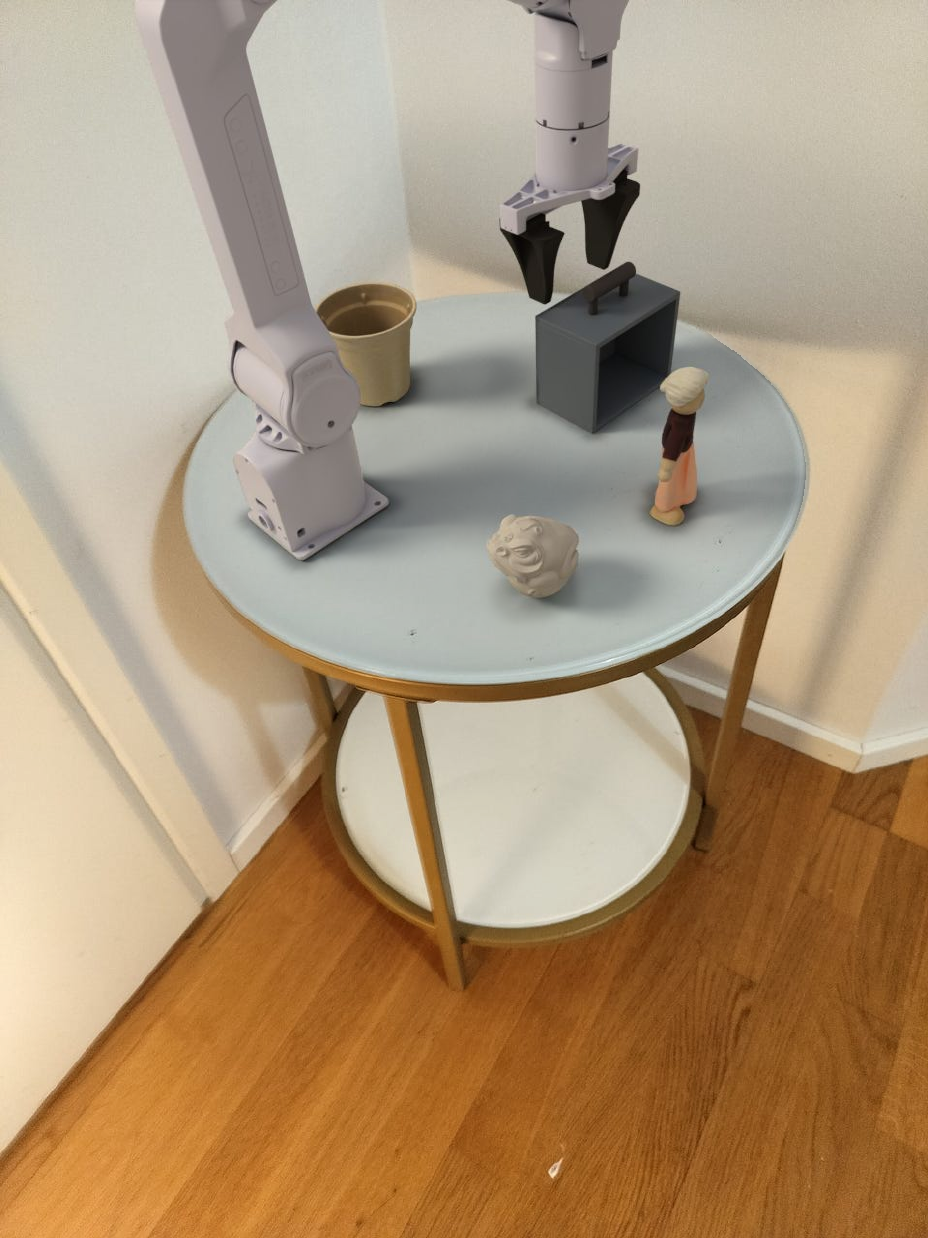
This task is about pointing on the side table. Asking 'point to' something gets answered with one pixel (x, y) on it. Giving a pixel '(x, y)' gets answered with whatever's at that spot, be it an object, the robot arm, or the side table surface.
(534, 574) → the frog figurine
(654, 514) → the grandmother figurine
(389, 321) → the flower pot
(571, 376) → the basket
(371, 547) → the side table surface
